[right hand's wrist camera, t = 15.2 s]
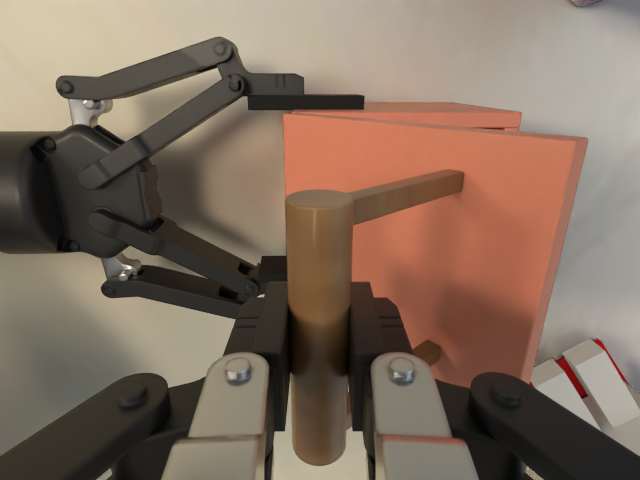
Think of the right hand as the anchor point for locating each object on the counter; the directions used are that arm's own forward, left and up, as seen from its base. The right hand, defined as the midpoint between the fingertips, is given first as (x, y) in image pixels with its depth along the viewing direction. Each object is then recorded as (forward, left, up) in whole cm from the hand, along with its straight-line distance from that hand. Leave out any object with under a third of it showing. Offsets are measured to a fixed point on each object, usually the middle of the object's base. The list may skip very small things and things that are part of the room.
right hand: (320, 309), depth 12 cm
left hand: (+3, 0, -14) cm, 15 cm away
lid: (+3, 0, -6) cm, 7 cm away
